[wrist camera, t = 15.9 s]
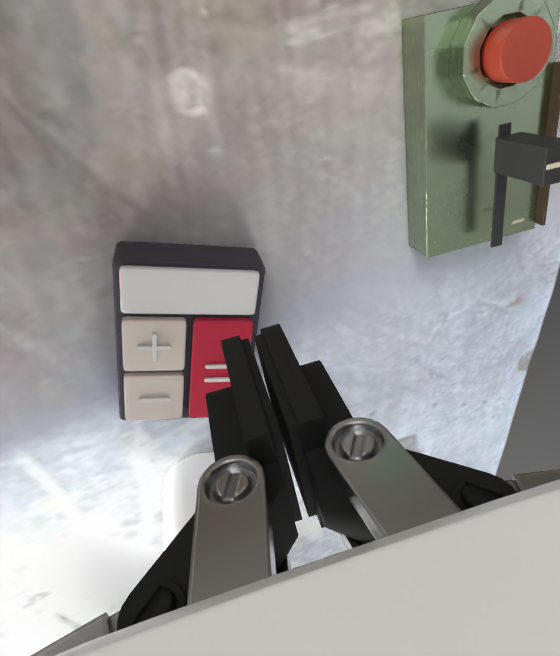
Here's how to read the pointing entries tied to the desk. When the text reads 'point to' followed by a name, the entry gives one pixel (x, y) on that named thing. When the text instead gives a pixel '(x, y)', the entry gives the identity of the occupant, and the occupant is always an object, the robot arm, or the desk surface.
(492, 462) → the desk surface
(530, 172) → the slider
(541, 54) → the power button
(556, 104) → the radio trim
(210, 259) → the calculator
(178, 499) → the mug
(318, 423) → the robot arm
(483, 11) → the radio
